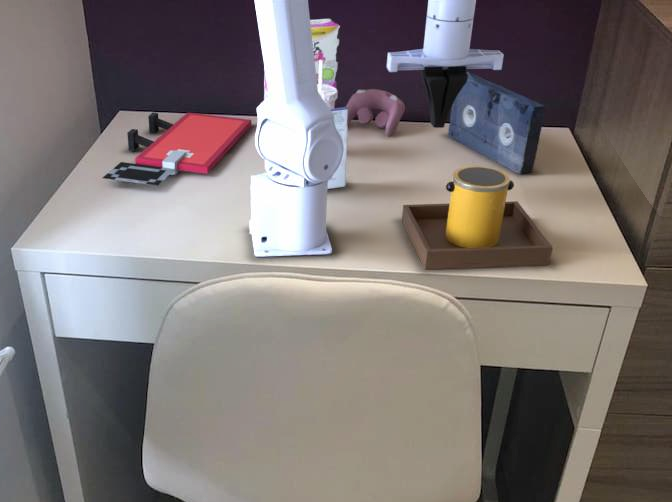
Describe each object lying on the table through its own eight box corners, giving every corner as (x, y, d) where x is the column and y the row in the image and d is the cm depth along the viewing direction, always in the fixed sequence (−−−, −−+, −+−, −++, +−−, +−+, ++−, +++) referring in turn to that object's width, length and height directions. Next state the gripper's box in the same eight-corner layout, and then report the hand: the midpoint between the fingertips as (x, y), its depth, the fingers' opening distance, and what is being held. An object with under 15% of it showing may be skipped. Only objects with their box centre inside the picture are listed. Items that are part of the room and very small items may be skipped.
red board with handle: (90, 182, 119) (190, 196, 116) (88, 163, 117) (189, 177, 114) (167, 118, 142) (251, 128, 140) (166, 101, 141) (251, 111, 138)
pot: (435, 258, 107) (457, 239, 97) (430, 179, 108) (452, 152, 97) (498, 256, 107) (527, 237, 97) (493, 178, 108) (521, 151, 98)
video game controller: (399, 140, 138) (411, 97, 137) (390, 135, 134) (402, 91, 133) (347, 129, 143) (358, 87, 141) (336, 124, 139) (347, 81, 137)
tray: (424, 269, 99) (426, 251, 98) (401, 221, 110) (403, 204, 108) (549, 265, 100) (553, 247, 99) (514, 217, 111) (517, 201, 109)
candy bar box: (271, 135, 136) (272, 29, 126) (263, 125, 140) (262, 21, 130) (336, 128, 138) (341, 24, 129) (325, 118, 142) (330, 16, 133)
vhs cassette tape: (534, 172, 124) (547, 105, 118) (517, 175, 123) (530, 107, 117) (461, 133, 137) (470, 70, 131) (446, 135, 136) (454, 73, 130)
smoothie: (331, 162, 126) (336, 67, 118) (290, 158, 127) (291, 64, 119) (337, 147, 131) (342, 55, 123) (297, 144, 132) (299, 52, 124)
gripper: (497, 8, 107) (481, 113, 115) (385, 9, 106) (377, 116, 114) (515, 21, 101) (497, 131, 109) (397, 23, 100) (387, 134, 108)
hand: (437, 125), depth 111 cm, fingers closed
